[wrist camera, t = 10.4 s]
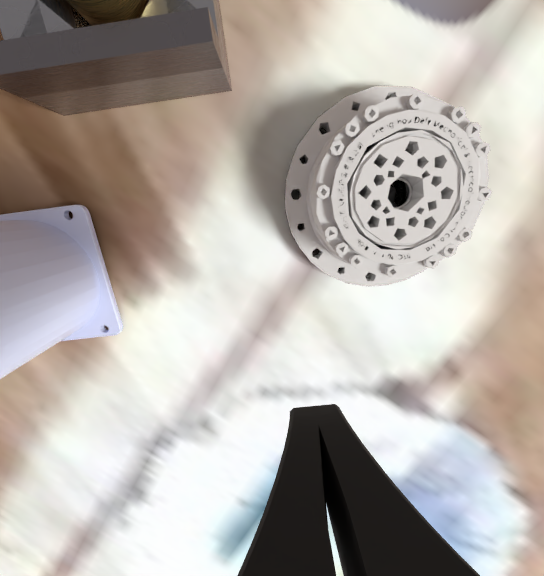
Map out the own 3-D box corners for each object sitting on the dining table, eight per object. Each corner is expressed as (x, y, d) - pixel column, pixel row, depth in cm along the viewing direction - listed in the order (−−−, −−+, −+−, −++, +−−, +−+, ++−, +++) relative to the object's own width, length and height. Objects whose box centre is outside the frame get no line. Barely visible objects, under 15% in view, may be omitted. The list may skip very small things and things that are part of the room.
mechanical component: (387, 48, 14) (248, 194, 16) (435, -20, 10) (238, 190, 12) (494, 197, 16) (358, 311, 18) (573, 194, 12) (384, 343, 14)
